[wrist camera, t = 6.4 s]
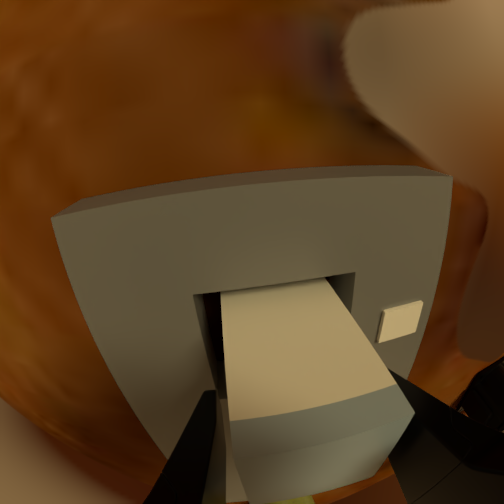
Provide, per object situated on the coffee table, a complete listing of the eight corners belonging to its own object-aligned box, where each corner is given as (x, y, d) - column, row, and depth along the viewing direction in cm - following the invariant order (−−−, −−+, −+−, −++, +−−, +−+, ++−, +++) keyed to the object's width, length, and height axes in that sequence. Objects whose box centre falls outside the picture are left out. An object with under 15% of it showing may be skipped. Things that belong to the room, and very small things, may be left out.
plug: (313, 262, 12) (415, 412, 5) (311, 335, 14) (373, 475, 6) (219, 274, 12) (233, 459, 4) (230, 347, 13) (250, 505, 6)
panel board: (415, 165, 11) (456, 177, 8) (348, 457, 21) (356, 479, 19) (81, 199, 10) (47, 219, 7) (203, 482, 20) (205, 505, 18)
